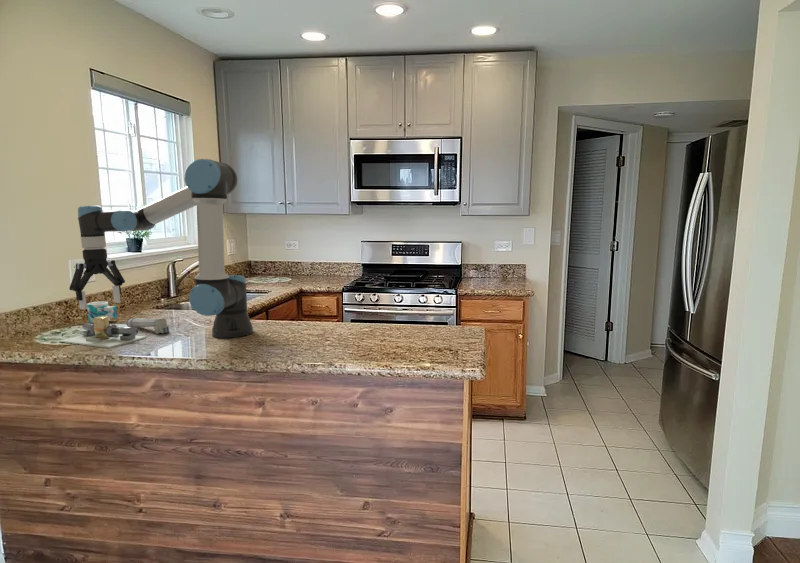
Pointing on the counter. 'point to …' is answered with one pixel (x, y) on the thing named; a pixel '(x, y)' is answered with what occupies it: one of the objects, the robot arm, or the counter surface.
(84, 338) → the board
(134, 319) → the grey hammer
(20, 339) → the counter surface
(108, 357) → the counter surface
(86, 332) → the shaft
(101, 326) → the gold upright block
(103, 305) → the mug
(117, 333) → the shaft
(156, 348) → the counter surface
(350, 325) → the counter surface
